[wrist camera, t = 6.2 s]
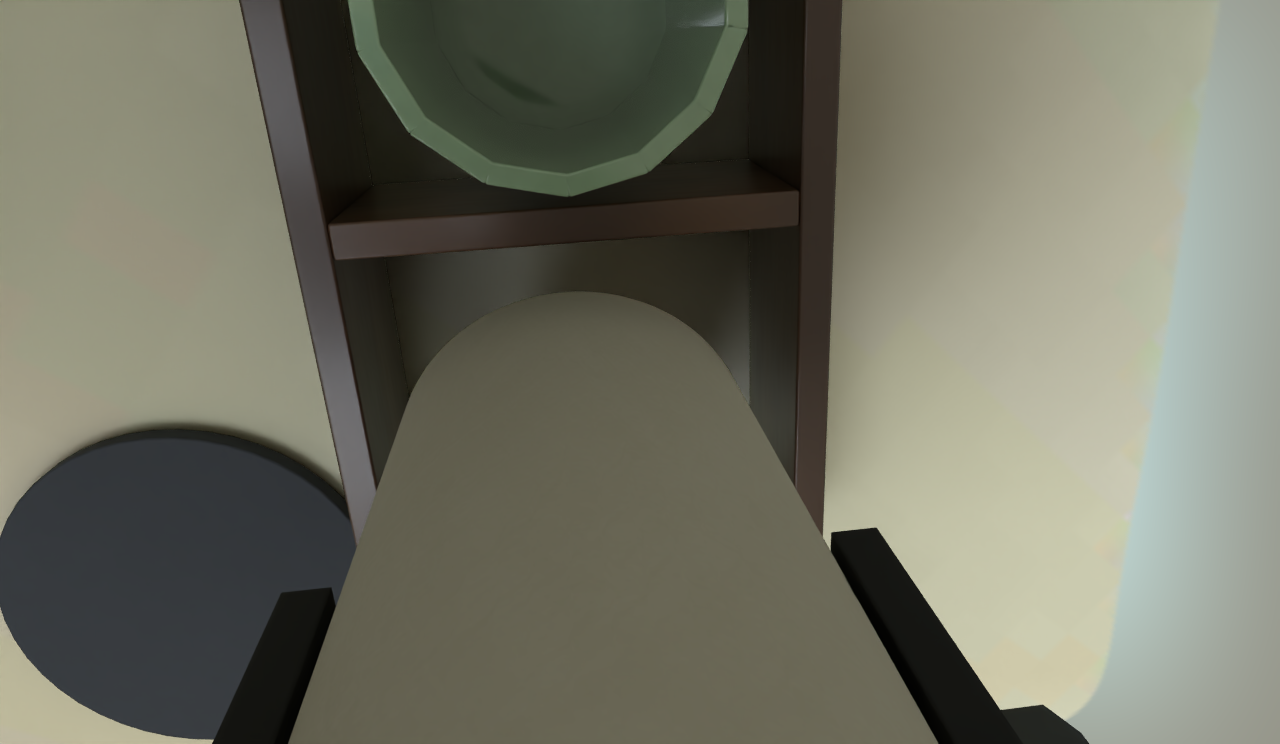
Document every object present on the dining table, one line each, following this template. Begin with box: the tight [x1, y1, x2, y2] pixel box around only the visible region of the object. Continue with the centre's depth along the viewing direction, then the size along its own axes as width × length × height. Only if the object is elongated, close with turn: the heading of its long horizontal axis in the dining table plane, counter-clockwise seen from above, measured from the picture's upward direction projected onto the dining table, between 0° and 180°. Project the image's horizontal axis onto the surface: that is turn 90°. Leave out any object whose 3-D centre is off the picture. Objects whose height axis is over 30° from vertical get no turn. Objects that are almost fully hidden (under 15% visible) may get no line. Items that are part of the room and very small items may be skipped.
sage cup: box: [348, 0, 748, 197], centre depth 17 cm, size 6×7×8 cm
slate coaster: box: [0, 430, 356, 739], centre depth 25 cm, size 11×11×1 cm
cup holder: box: [239, 0, 842, 548], centre depth 20 cm, size 12×20×5 cm, turn 3°
